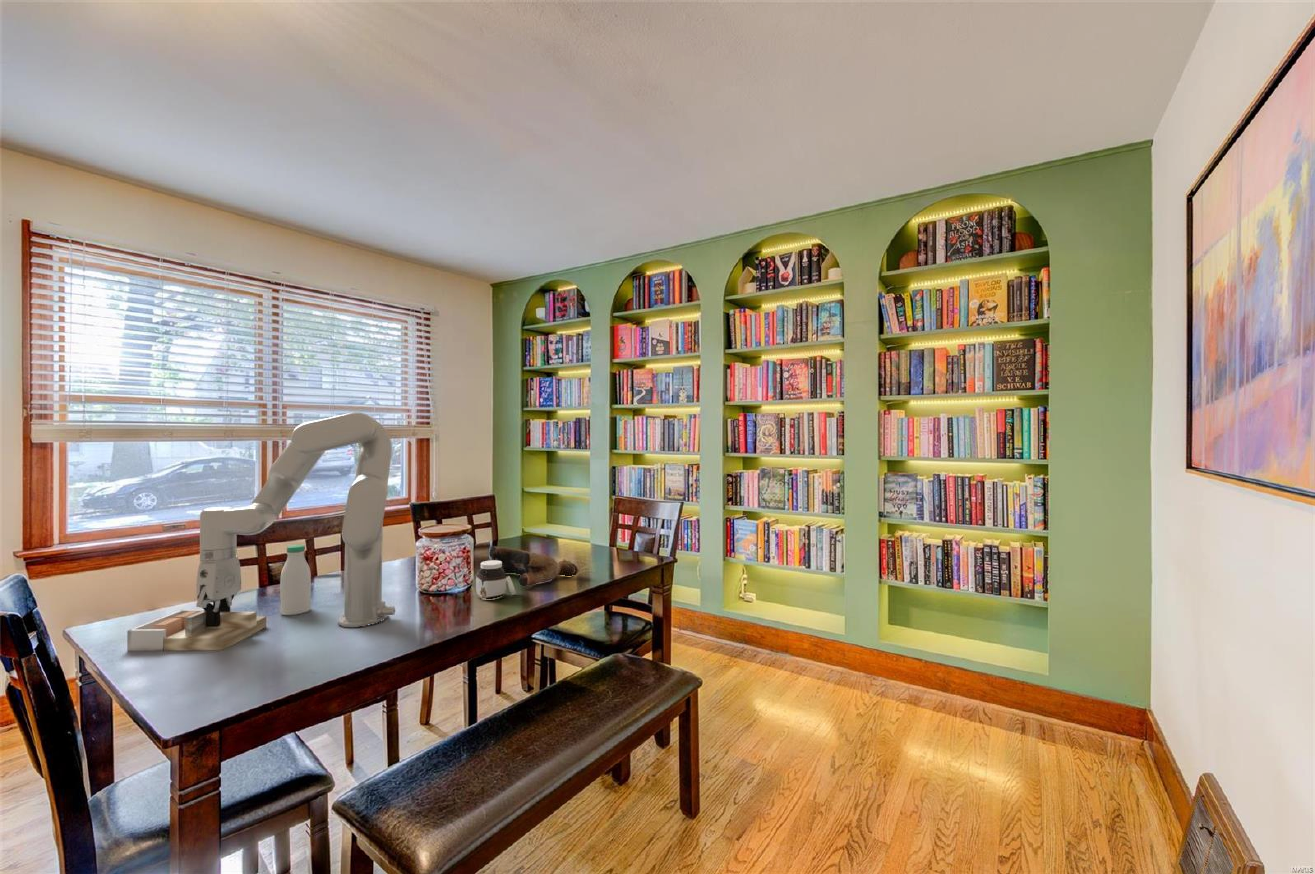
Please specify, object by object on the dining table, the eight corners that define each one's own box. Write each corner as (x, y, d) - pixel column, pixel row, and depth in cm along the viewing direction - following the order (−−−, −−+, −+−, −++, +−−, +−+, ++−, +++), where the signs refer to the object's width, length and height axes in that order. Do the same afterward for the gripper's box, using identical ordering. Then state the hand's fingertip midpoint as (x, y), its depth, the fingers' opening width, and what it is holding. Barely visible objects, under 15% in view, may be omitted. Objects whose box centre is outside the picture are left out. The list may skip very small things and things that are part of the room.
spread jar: (472, 597, 179) (472, 562, 179) (502, 589, 188) (502, 556, 188) (492, 604, 171) (492, 568, 171) (522, 596, 180) (522, 562, 180)
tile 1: (181, 617, 141) (171, 617, 141) (165, 624, 136) (154, 624, 136) (181, 636, 141) (171, 637, 141) (164, 644, 136) (154, 644, 136)
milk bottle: (316, 609, 165) (316, 544, 165) (290, 617, 158) (290, 549, 158) (300, 606, 168) (301, 542, 168) (274, 613, 161) (274, 547, 161)
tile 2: (199, 610, 147) (190, 610, 147) (184, 616, 142) (174, 616, 142) (199, 628, 147) (190, 628, 147) (184, 635, 142) (174, 635, 142)
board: (266, 626, 150) (266, 616, 150) (222, 649, 134) (222, 637, 134) (214, 627, 149) (214, 616, 149) (164, 650, 133) (164, 638, 133)
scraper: (268, 618, 148) (268, 602, 148) (236, 634, 136) (236, 617, 136) (221, 618, 148) (221, 602, 148) (185, 635, 136) (185, 617, 136)
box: (213, 627, 149) (213, 609, 149) (162, 650, 133) (163, 630, 133) (181, 627, 149) (181, 609, 149) (127, 650, 133) (127, 630, 133)
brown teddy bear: (532, 549, 186) (586, 547, 205) (482, 545, 206) (535, 543, 225) (530, 588, 184) (585, 582, 203) (480, 579, 204) (534, 575, 223)
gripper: (208, 561, 134) (208, 635, 134) (254, 547, 150) (254, 613, 150) (177, 561, 133) (177, 635, 133) (227, 547, 150) (226, 613, 150)
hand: (218, 623), depth 142 cm, fingers open, 2 cm apart
